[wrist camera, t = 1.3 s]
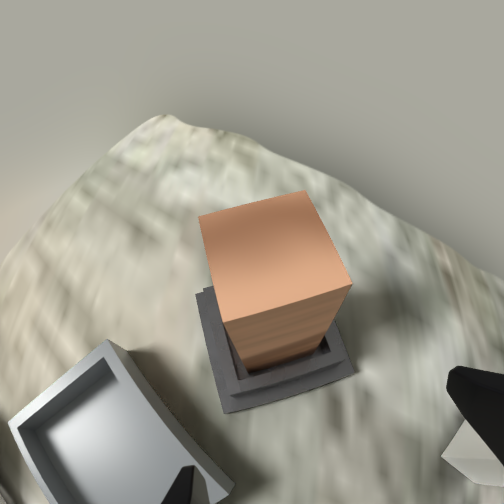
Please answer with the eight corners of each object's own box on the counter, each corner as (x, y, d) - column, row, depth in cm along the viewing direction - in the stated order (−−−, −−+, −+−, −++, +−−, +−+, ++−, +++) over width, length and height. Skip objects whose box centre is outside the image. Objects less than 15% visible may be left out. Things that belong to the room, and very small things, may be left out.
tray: (235, 483, 16) (228, 494, 13) (114, 550, 12) (95, 561, 9) (126, 350, 22) (107, 338, 20) (31, 426, 18) (7, 422, 15)
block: (313, 354, 21) (352, 283, 11) (248, 373, 20) (222, 322, 10) (292, 296, 24) (305, 189, 13) (231, 313, 23) (198, 216, 13)
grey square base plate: (352, 374, 20) (364, 366, 18) (225, 413, 20) (217, 412, 17) (309, 266, 26) (313, 246, 23) (197, 297, 25) (187, 280, 22)
